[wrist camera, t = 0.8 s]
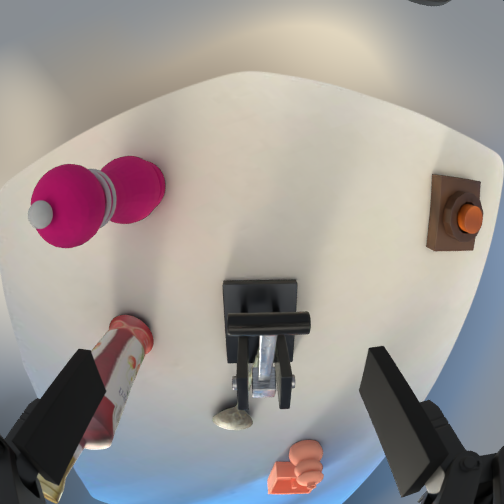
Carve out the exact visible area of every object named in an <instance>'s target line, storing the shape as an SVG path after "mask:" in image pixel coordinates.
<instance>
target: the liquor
mask: <svg viewBox="0 0 504 504" xmlns="http://www.w3.org/2000/svg"><path fill="white" fill-rule="evenodd" d="M153 342H154V341H153V336H152V333H151V331H150V329H149V328H148V327H147V325H146V324H144V323H143V322H142V321H141V320H139V319H138V318H136V317H133V316H130V315H120V316H117V317H115V318H114V319H113V320H112V321H111V323H110V326H109V330H108V331H107V332H106V334H105V335H104V336H103V337H102V339H101V340H100V341H99V342H98V343H97V345H96V346H95V347H94V348H93V349H92V351H91V353H92V355H93V358H94V361H95V363H96V366H97V369H98V371H99V374H100V376H101V379H102V381H103V384H104V386H105V389H106V393H105V395H104V397H103V399H102V401H101V402H100V404H99V406H98V408H97V410H96V412H95V414H94V416H93V418H92V419H91V421H90V423H89V425H88V427H87V429H86V431H85V433H84V435H83V437H82V439H81V441H80V443H79V445H78V447H77V449H76V451H75V453H74V455H73V457H72V459H71V461H70V463H69V465H68V468H67V470H66V472H65V474H64V476H63V478H62V480H61V483H60V485H59V486H58V485H55V484H53V483H51V482H49V481H46V480H45V479H44V478H43V477H42V476H41V475H40V474H39V473H38V475H37V478H38V479H39V481H40V484H41V488H42V491H43V494H44V498H46V499H47V500H49V501H51V502H54V503H58V502H59V499H60V497H61V495H62V492H63V490H64V484H65V480H66V476H67V474H68V473H69V471H70V470H71V468H72V467H73V465H74V463H75V462H76V460H77V459H78V457H79V455H80V454H81V452H82V451H83V449H84V448H87V449H106V448H108V447H109V446H110V445H111V443H112V440H113V437H114V434H115V431H116V429H117V426H118V423H119V421H120V418H121V415H122V413H123V410H124V407H125V404H126V401H127V399H128V396H129V393H130V390H131V387H132V385H133V382H134V380H135V377H136V375H137V372H138V370H139V368H140V365H141V363H142V361H143V359H144V356H145V354H147V353H148V352H150V350H151V349H152V347H153Z"/></svg>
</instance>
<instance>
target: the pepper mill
mask: <svg viewBox="0 0 504 504" xmlns="http://www.w3.org/2000/svg"><path fill="white" fill-rule="evenodd" d="M164 193H165V179H164V176H163V174H162V172H161V170H160V169H159V168H158V167H157V166H156V165H155V164H153V163H151V162H148V161H145V160H143V159H141V158H139V157H135V156H124V157H120V158H117V159H114V160H113V161H111V162H109V163H108V164H107V165H105V166H104V167H103V168H102V169H101V171H100V170H96V169H86V168H85V167H83V166H80V165H75V164H65V165H61V166H58V167H55V168H53V169H52V170H50V171H48V172H47V173H46V174H45V175H43V177H42V178H41V179H40V180H39V182H38V183H37V185H36V187H35V189H34V191H33V195H32V198H31V207H30V208H29V211H28V219H29V222H30V224H31V225H32V226H33V227H35V228H36V230H37V231H38V233H39V234H40V236H41V237H42V238H43V239H44V240H45V241H47V242H48V243H49V244H51V245H53V246H55V247H61V248H72V247H76V246H79V245H82V244H84V243H85V242H87V241H88V240H89V239H91V238H92V237H93V236H94V235H95V234H96V233H97V231H98V229H99V228H101V227H103V226H104V225H106V224H107V223H108V222H109V221H112V222H115V223H120V224H130V223H134V222H137V221H140V220H142V219H144V218H145V217H147V216H148V215H149V214H150V213H151V212H152V210H153V209H154V208H155V207H156V206H157V205H158V204H159V203H160V202H161V200H162V198H163V196H164Z"/></svg>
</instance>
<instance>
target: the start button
mask: <svg viewBox="0 0 504 504" xmlns="http://www.w3.org/2000/svg"><path fill="white" fill-rule="evenodd" d="M482 220H483V216H482V212H481V210H480V208H479V207H477V206H474V205H470V204H465V205H463V206H462V207H461V208H460V210H459V212H458V215H457V222H458V226H459V227H460V229H461V230H463V231H465V232H468V233H470V234H474V233H476V232H478V230H479V229H480V227H481V225H482Z"/></svg>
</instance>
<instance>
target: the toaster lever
mask: <svg viewBox="0 0 504 504" xmlns="http://www.w3.org/2000/svg"><path fill="white" fill-rule="evenodd" d="M310 328H311V320H310V314H309V312H307V311H305V312H277V313H229V314H228V317H227V331H228V336H259V359H258V367H252V396H253V397H274V396H275V392H276V372H275V367H273V360H274V354H275V347H276V340H277V336H278V335H302V334H309V333H310Z"/></svg>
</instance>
